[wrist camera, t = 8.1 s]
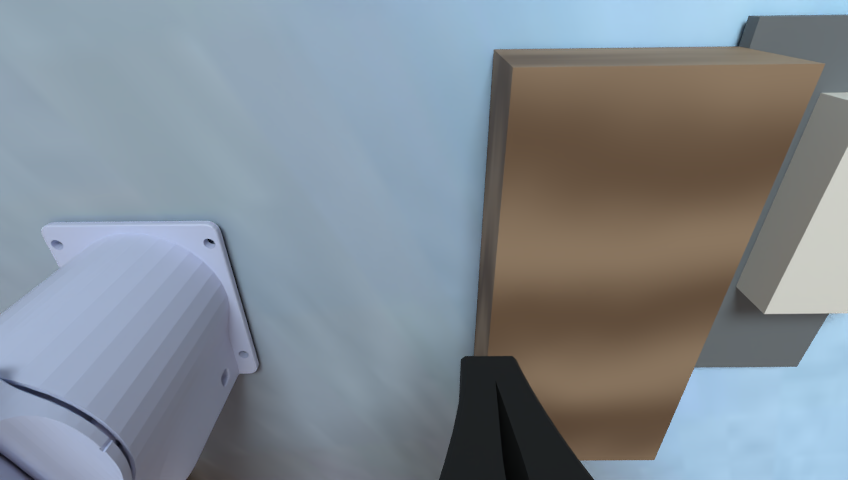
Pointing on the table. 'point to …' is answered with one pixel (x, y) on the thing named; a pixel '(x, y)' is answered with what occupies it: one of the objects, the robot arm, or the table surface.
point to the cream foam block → (807, 224)
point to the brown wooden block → (623, 221)
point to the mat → (738, 317)
